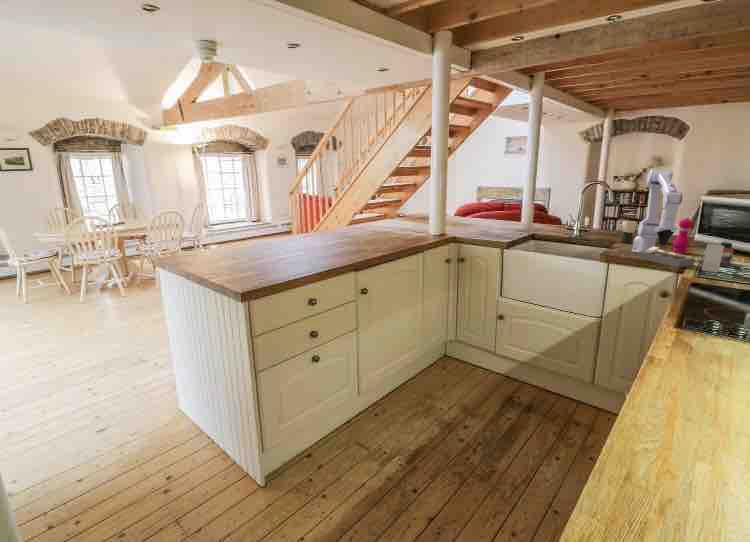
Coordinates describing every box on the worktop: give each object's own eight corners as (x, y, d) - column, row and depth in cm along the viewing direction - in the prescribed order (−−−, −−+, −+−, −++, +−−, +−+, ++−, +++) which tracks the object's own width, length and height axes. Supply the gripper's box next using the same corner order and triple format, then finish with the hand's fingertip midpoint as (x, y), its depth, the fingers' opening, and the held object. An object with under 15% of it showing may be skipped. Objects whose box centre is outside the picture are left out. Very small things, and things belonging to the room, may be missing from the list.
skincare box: (718, 271, 189) (725, 245, 186) (717, 273, 186) (724, 247, 182) (701, 268, 193) (708, 243, 190) (700, 270, 190) (706, 244, 186)
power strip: (636, 258, 211) (638, 250, 210) (651, 256, 216) (653, 248, 215) (678, 267, 194) (680, 259, 193) (693, 265, 199) (695, 257, 198)
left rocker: (645, 251, 208) (645, 249, 208) (653, 248, 210) (653, 246, 210) (651, 253, 206) (651, 251, 205) (659, 249, 208) (659, 247, 207)
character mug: (633, 242, 254) (637, 221, 251) (638, 244, 248) (642, 222, 244) (614, 240, 256) (617, 220, 253) (618, 243, 249) (622, 221, 246)
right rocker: (668, 253, 198) (669, 251, 198) (675, 255, 201) (676, 253, 200) (674, 254, 195) (675, 252, 195) (681, 257, 198) (682, 255, 198)
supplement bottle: (713, 263, 204) (719, 241, 201) (729, 265, 201) (735, 242, 198) (713, 265, 200) (719, 242, 197) (729, 267, 196) (735, 244, 193)
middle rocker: (657, 251, 203) (657, 249, 202) (663, 253, 205) (664, 251, 205) (662, 252, 200) (663, 250, 200) (669, 254, 203) (670, 252, 203)
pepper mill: (687, 254, 223) (695, 217, 218) (671, 252, 227) (679, 216, 222) (687, 252, 228) (695, 216, 223) (671, 250, 233) (679, 215, 227)
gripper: (667, 219, 191) (661, 248, 194) (686, 218, 197) (680, 246, 200) (652, 217, 197) (646, 245, 201) (670, 216, 203) (665, 243, 207)
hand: (662, 245), depth 201 cm, fingers closed
